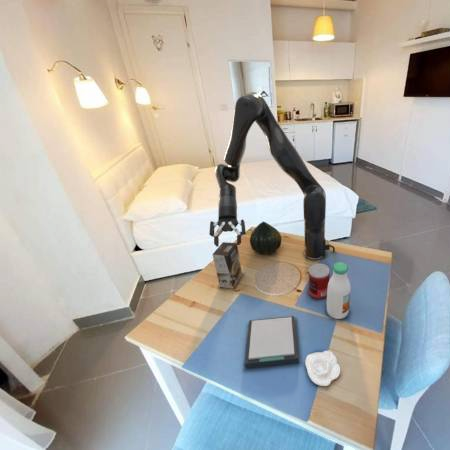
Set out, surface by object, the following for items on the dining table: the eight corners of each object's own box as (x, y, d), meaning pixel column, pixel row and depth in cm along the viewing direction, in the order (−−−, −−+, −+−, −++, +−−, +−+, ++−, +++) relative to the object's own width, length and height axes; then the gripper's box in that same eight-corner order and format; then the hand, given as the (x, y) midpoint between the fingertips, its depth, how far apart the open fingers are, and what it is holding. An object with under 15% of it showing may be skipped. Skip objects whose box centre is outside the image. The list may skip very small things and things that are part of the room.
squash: (267, 254, 110) (276, 222, 112) (240, 248, 116) (249, 217, 118) (281, 259, 123) (289, 229, 125) (256, 252, 129) (263, 225, 131)
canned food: (330, 287, 99) (331, 265, 94) (326, 301, 92) (326, 278, 87) (312, 283, 101) (312, 261, 96) (306, 297, 95) (306, 274, 89)
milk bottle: (334, 323, 84) (337, 277, 74) (322, 307, 90) (323, 263, 80) (353, 314, 87) (358, 269, 77) (340, 299, 93) (343, 256, 83)
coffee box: (234, 289, 99) (227, 256, 91) (219, 287, 100) (211, 254, 93) (243, 274, 107) (237, 242, 99) (229, 272, 108) (222, 241, 100)
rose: (344, 349, 71) (337, 383, 63) (343, 358, 73) (336, 392, 65) (310, 339, 74) (299, 370, 66) (310, 349, 76) (299, 380, 68)
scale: (294, 320, 85) (294, 314, 84) (298, 363, 72) (298, 356, 70) (250, 325, 84) (249, 318, 82) (246, 368, 71) (244, 362, 69)
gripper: (207, 206, 102) (207, 244, 97) (243, 204, 103) (244, 242, 98) (213, 212, 109) (212, 248, 105) (246, 210, 110) (246, 246, 106)
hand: (227, 245), depth 101 cm, fingers open, 8 cm apart
